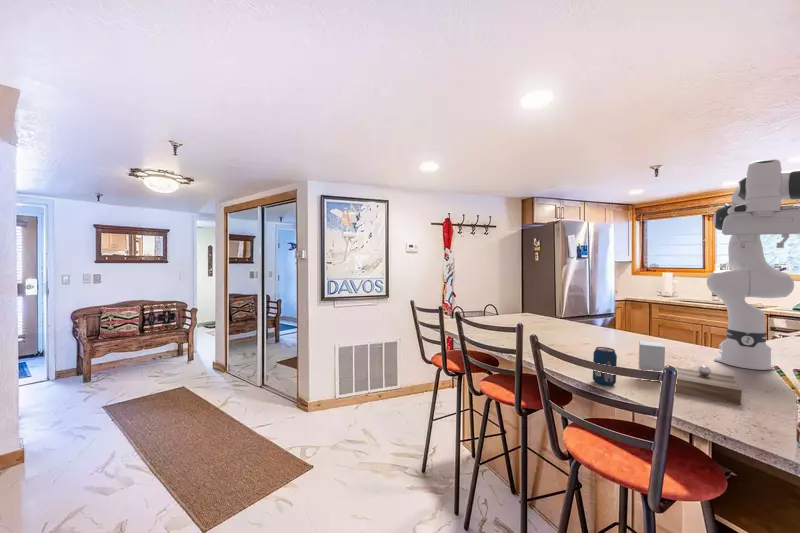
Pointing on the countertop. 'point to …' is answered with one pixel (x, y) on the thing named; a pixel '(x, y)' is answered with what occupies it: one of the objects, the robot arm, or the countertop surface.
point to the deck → (708, 386)
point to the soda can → (608, 358)
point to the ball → (704, 371)
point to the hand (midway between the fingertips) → (760, 248)
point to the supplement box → (651, 356)
